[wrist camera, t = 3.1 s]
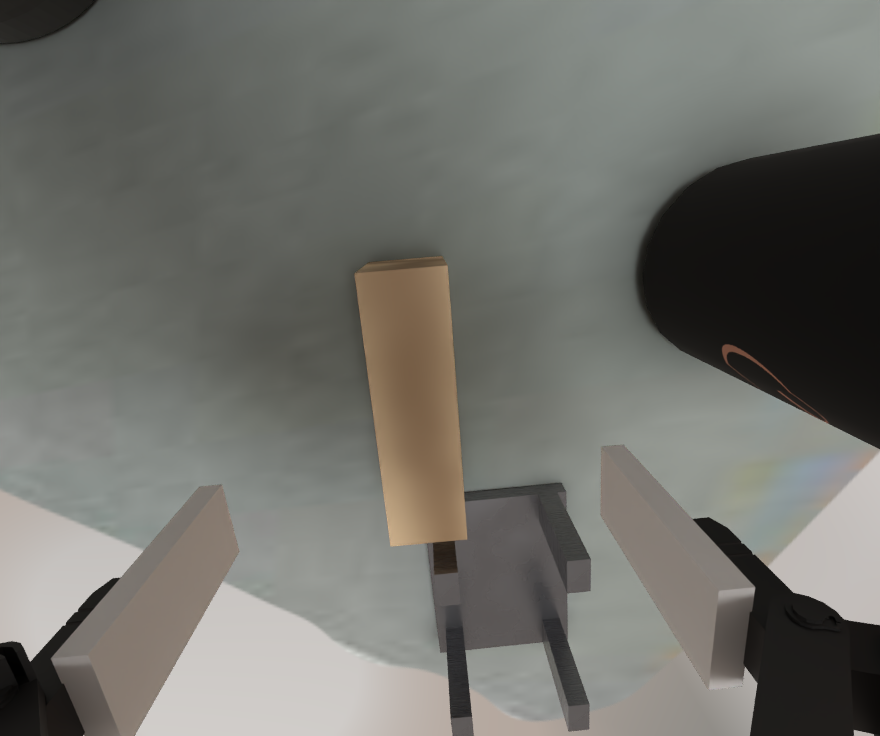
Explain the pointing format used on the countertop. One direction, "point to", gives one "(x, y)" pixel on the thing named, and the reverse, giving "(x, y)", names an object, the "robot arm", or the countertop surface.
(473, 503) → the bracket
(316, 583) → the countertop surface
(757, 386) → the coffee jar
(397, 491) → the block
